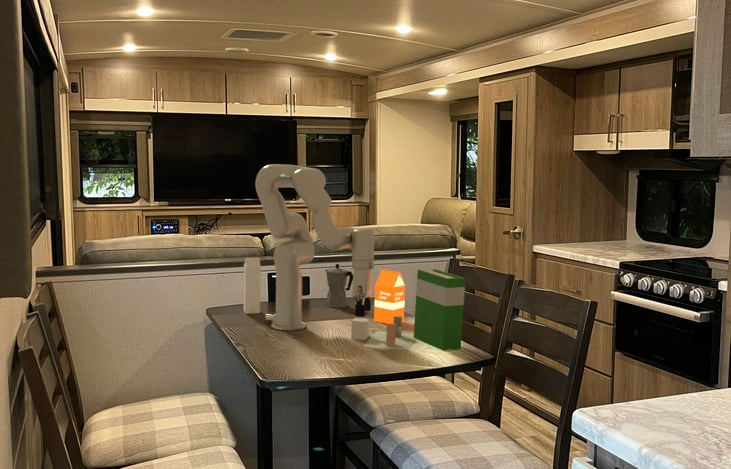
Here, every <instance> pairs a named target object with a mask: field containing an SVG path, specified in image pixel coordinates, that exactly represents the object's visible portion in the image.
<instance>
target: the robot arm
mask: <svg viewBox="0 0 731 469" xmlns="http://www.w3.org/2000/svg"><path fill="white" fill-rule="evenodd" d="M326 183H327V179H326V176H325V174H324V173H323V171H321V170H320V169H318V168H315V167H306V166H301V165H295V164H284V163H283V164H280V163H278V164H277V163H275V164H274V163H273V164H272V163H271V164H267V165H265V166H263V167H262V168H261V169H259V171H258V173H257V174H256V178H255V190H256V193H257V197H258V199H259V201H260V204H261V206H262V210H263V214H264V216H265V221H266V223H267V227H268V229H269V232H270V234H271V237H273V238H274V239H277V240H284V239H285V240H286V239H288V241H284V242H281V243H280V244H278V245H277V246H276V247H275V248H274V249H275V250H274V253H273V262H274V268H275V280H276V281H275V313H274V314H271V313H266V314H265V315H264V318H265V320H266V321H271V329H272V328H273V329H275V330H278V331H279V330H280V331H298V330H303V329H305V328H306V326H307V325H306V324H307V323H305V322H304V321H303V320H302V319H303V318H302V317H303V316H302V312H303V311H302V310H303V309H302V308H303V304H302V302H303V275H302V272H301V269H300V266H304V265H308V264H310V263H311V262H312V261H313V260H314V258H315V251H316V250H315V245H314V243H313V238H312V236H311V233H310V229H309V227H308V226H309V225H308V224H307V221H306V220H305V218H304V217H303V216H302V215H301V214H300V213H297V212H293V211H292V212H290V211H289V209H288V207H287V203H286V200H285V198H284V197H283V196H284V195H282V193H281V192H280V191H279V188H293V189H294V190H295V191H296V193H297V194H298V196H299V197H300V198H301V199H302V201H303V203H304V204H305V206H306V207H307V208H308V210H309V211H310V213H311V221H312V226H313V229H314V231H315V233H316V234H317V236H318V238H319V239H320V241H321V242H322V243H323V244H324V246H326V247H327V248H328V249H330V250H332V251H342V250H346V249H351V269H352V270H353V273H352V274H353V281H352V294H351V295H352V298H353V299H355V303H354V304H355V305H354V311H355V312H354V314H355V315H354V316H355V317H356V318H365V315H366V314H365V313H366V312H370V311H372V307H371V306H372V300H371V294H372V284H373V283H372V280H373V279H372V278H373V277H372V270H374V269H375V255H374V254H375V233H374V231H373V229H371V228H365V227H364V228H355V227H351V226H343V227H341V226H340V227H337V226H336V225H335V223H334V222H333V220H332V219H331V216H330V214H329V208H330V206H331V204H332V198H331V197H330V195H329V194H328V192H327V191H326V189H325V187H326Z"/></svg>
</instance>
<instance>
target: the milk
mask: <svg viewBox="0 0 731 469" xmlns="http://www.w3.org/2000/svg"><path fill="white" fill-rule="evenodd" d="M261 268H262V266H261V258H260V257H245V258H244V264H243V312H244V314H260V313H261V278H262V277H261V272H262V270H261Z"/></svg>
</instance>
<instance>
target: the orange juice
mask: <svg viewBox="0 0 731 469" xmlns="http://www.w3.org/2000/svg"><path fill="white" fill-rule="evenodd" d="M405 291H406V284H405V281H404V279H403V277H402V274H401V272H400V271H394V270H386V269H381V271H380V273H379V276H378V278H377V280H376V283H375V286H374V315H373V317H374V322H378V323H382V324H393V321H394V316H395V315H396V316H402V322H403V323H404V322H405V321H404V319H405V303H406V302H405V301H406V300H405V298H406V297H405V294H406V293H405Z"/></svg>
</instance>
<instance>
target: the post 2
mask: <svg viewBox="0 0 731 469" xmlns="http://www.w3.org/2000/svg"><path fill="white" fill-rule="evenodd" d="M393 324H396V335H395V337H401V335H402V333H403V332H402V330H403V328H402V327H403V323H402V316H396V315H395V316H394V321H393Z"/></svg>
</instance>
